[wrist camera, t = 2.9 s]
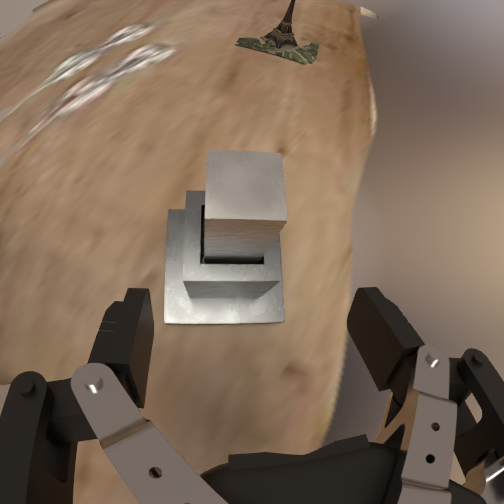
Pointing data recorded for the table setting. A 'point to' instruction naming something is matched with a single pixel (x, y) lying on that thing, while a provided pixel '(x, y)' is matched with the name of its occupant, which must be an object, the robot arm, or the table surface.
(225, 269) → the jack stand base
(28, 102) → the table surface
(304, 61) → the eiffel tower figurine
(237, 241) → the column
